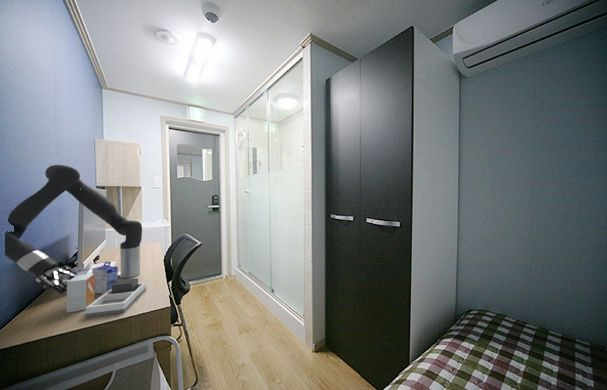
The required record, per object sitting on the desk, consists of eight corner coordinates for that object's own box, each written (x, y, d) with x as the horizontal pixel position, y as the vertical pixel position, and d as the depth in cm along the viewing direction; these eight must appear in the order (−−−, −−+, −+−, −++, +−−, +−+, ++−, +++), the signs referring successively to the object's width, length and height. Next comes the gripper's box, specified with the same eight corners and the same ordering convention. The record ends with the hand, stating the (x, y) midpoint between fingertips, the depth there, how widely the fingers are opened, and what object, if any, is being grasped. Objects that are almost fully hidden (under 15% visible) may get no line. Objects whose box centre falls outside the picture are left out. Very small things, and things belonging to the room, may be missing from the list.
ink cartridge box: (118, 289, 110) (118, 261, 110) (106, 294, 104) (106, 265, 104) (103, 287, 112) (103, 260, 112) (91, 292, 106) (91, 264, 106)
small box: (86, 309, 91) (86, 279, 91) (66, 313, 88) (66, 282, 88) (95, 300, 98) (95, 273, 98) (76, 303, 96) (76, 275, 95)
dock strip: (115, 293, 106) (115, 278, 105) (146, 290, 109) (146, 275, 109) (85, 317, 85) (85, 298, 85) (124, 312, 89) (124, 294, 89)
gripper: (30, 262, 83) (67, 287, 86) (60, 252, 97) (91, 274, 100) (12, 277, 81) (50, 302, 85) (45, 265, 95) (77, 287, 98)
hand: (72, 287), depth 92 cm, fingers open, 8 cm apart
